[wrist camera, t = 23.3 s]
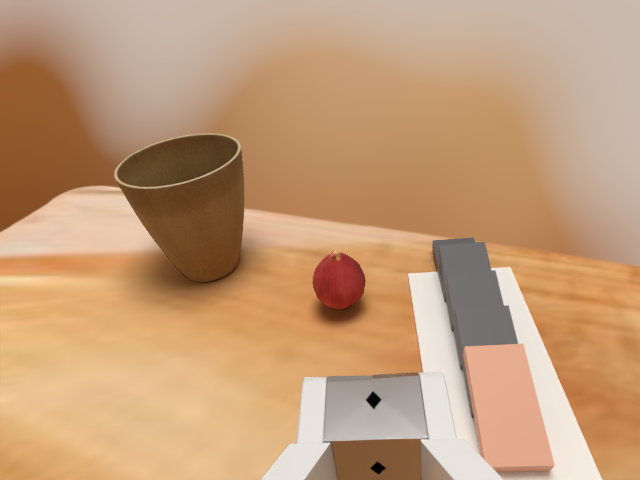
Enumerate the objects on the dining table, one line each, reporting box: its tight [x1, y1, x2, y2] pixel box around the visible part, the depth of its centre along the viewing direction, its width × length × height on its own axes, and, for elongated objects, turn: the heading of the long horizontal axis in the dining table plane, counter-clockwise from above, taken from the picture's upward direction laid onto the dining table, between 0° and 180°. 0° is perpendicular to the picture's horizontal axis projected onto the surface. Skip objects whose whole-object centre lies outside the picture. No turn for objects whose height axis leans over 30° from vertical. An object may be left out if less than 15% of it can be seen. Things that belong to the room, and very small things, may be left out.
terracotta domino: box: [463, 344, 555, 472], centre depth 42 cm, size 5×2×10 cm
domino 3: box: [446, 270, 504, 370], centre depth 51 cm, size 5×2×10 cm
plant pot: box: [114, 133, 244, 282], centre depth 65 cm, size 15×15×16 cm
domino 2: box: [439, 242, 491, 331], centre depth 55 cm, size 5×2×10 cm
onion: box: [313, 251, 365, 309], centre depth 57 cm, size 6×6×8 cm
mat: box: [408, 267, 602, 480], centre depth 48 cm, size 12×32×1 cm, turn 177°
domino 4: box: [454, 305, 518, 418], centre depth 47 cm, size 5×2×10 cm
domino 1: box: [433, 238, 475, 303], centre depth 60 cm, size 5×2×10 cm
